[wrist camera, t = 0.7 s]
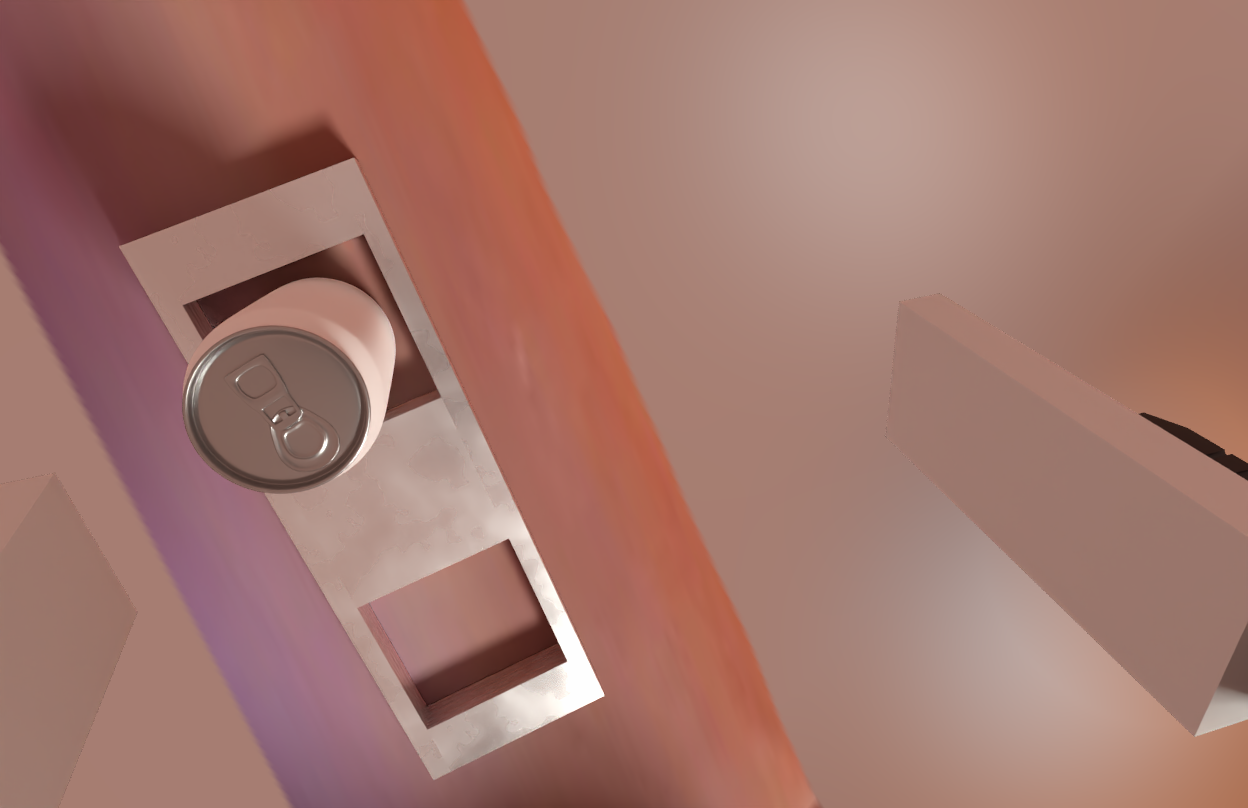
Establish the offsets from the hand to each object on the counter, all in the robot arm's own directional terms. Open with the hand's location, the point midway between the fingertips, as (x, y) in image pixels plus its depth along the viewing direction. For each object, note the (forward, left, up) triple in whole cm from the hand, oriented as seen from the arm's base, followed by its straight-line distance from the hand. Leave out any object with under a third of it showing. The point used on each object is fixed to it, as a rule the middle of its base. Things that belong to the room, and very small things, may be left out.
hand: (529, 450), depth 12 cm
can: (0, +7, -26) cm, 27 cm away
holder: (-8, +7, -26) cm, 28 cm away
